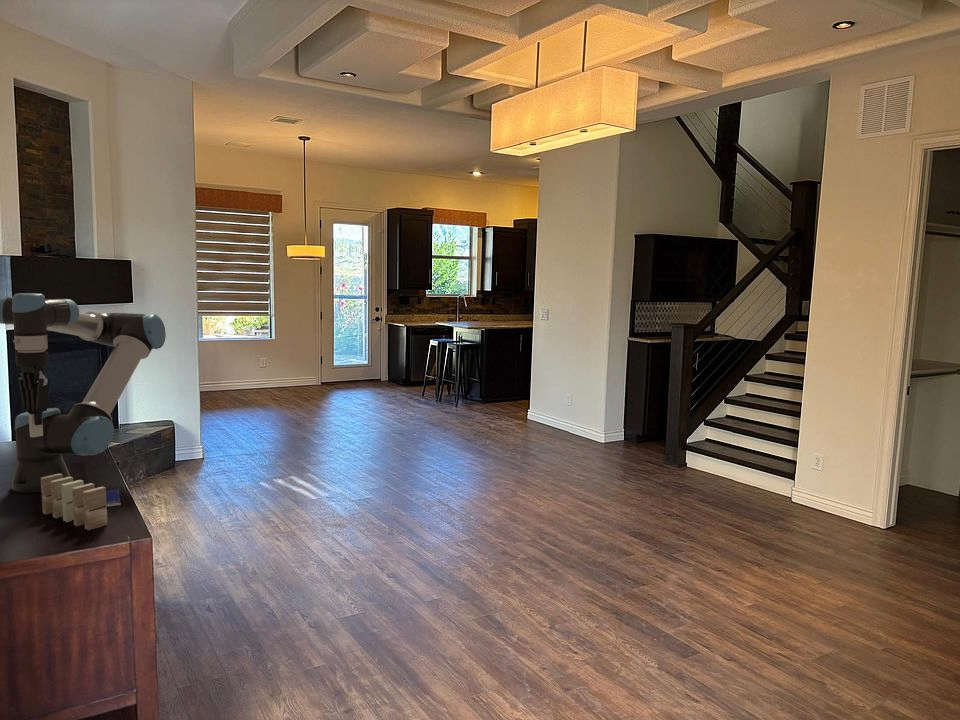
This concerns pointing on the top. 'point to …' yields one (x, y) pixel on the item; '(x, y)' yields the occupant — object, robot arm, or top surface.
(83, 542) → the top surface
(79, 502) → the domino
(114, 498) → the hard drive
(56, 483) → the domino
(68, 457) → the top surface
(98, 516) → the domino
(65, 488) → the domino
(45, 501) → the domino
